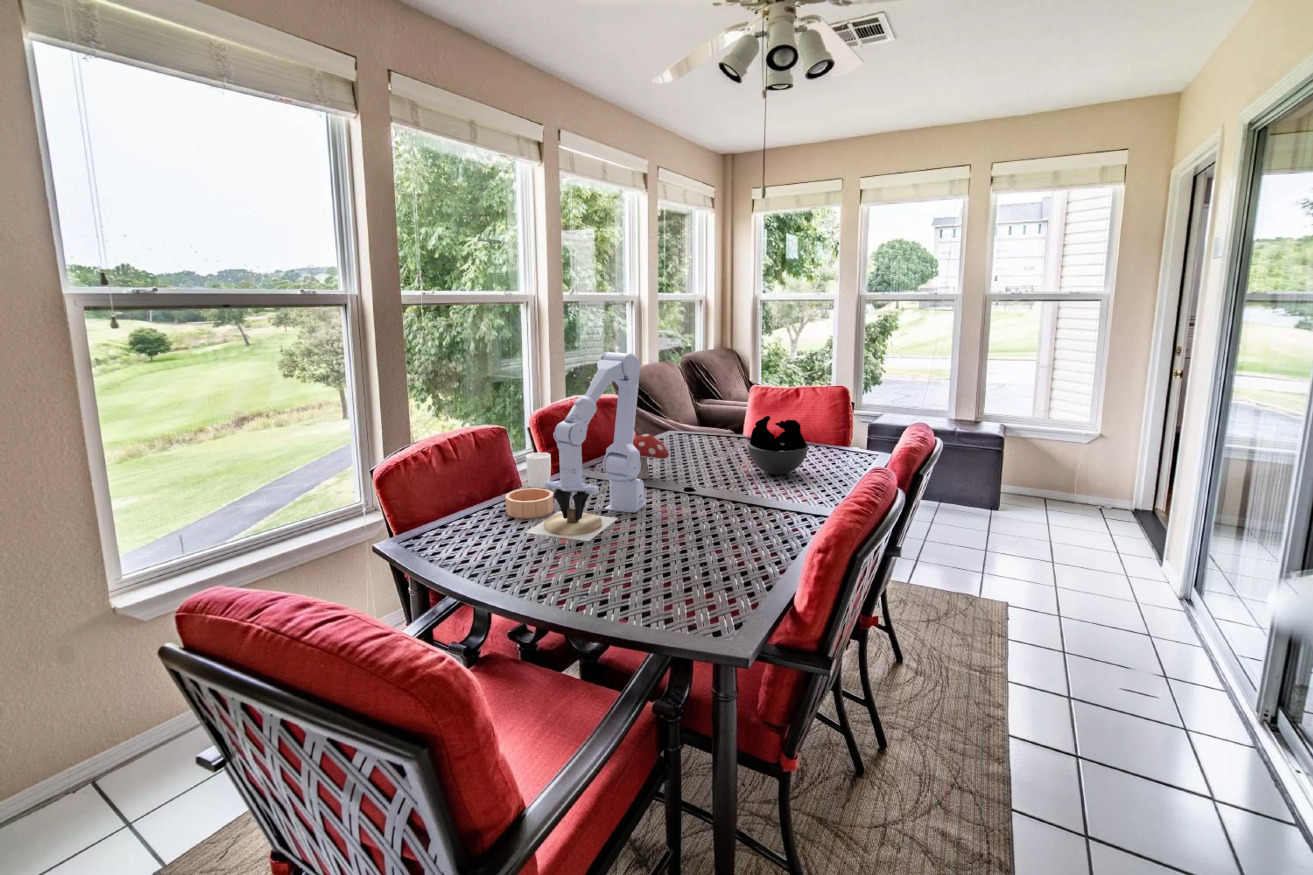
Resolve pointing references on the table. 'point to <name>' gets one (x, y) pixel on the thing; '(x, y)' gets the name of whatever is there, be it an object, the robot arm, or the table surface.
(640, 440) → the decorative mushroom
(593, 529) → the oak lid
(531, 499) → the terracotta bowl
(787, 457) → the coal bowl
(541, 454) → the white cup
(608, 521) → the white square mat
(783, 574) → the table surface
